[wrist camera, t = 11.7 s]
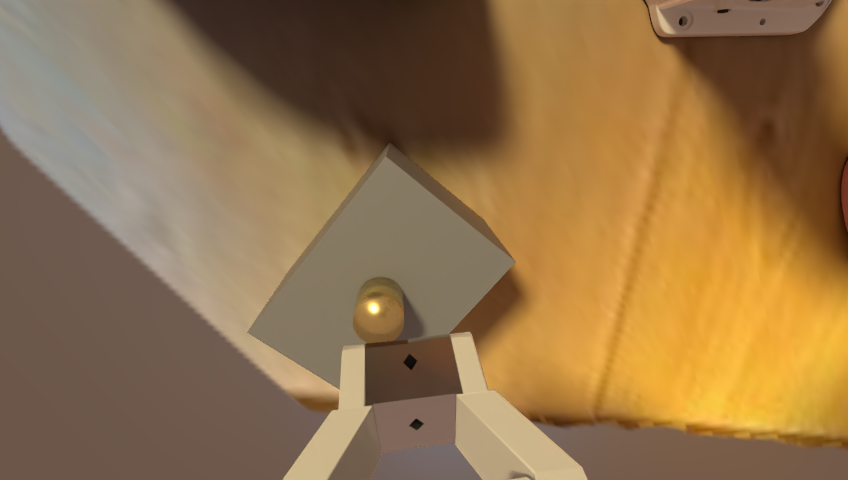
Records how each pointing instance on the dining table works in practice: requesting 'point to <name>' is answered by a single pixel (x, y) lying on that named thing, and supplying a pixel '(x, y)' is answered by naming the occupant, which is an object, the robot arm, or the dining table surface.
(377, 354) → the robot arm
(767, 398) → the dining table surface
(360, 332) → the brass dial
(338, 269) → the grey cabinet
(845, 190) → the oxford shoe
